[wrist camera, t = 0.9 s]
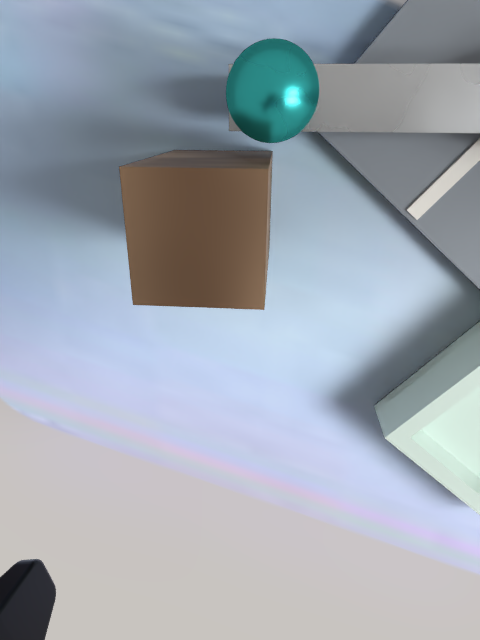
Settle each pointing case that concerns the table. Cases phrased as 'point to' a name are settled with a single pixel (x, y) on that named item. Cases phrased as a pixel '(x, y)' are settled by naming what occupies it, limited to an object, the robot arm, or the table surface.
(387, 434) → the tray
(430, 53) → the crank base
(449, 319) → the table surface
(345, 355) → the table surface
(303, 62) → the crank
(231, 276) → the brown block
